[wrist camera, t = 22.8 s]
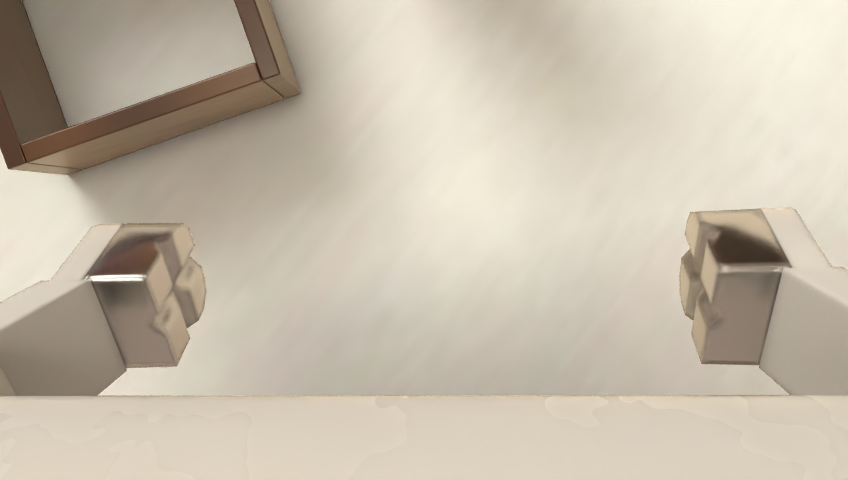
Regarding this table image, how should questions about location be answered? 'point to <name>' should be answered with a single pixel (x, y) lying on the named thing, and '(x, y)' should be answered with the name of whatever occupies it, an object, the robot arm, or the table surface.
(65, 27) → the table surface
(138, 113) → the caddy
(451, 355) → the table surface
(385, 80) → the table surface
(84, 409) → the robot arm
